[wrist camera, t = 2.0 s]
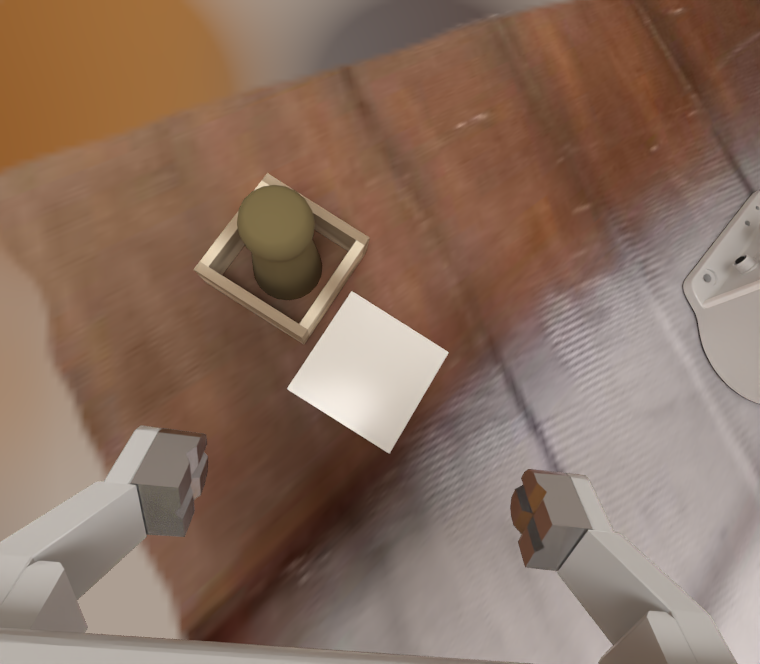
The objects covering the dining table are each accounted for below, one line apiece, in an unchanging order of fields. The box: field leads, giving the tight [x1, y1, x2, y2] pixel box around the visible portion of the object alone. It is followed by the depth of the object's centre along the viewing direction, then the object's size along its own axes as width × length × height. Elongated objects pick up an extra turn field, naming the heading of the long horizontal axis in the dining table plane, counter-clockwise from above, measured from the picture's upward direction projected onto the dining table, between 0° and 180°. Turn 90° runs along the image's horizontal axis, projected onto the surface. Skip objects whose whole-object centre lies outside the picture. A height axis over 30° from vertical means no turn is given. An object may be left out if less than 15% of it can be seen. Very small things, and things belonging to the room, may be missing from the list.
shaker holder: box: [194, 173, 369, 344], centre depth 38 cm, size 10×10×4 cm
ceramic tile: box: [287, 291, 449, 454], centre depth 39 cm, size 10×10×1 cm
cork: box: [237, 185, 322, 300], centre depth 35 cm, size 6×6×11 cm
